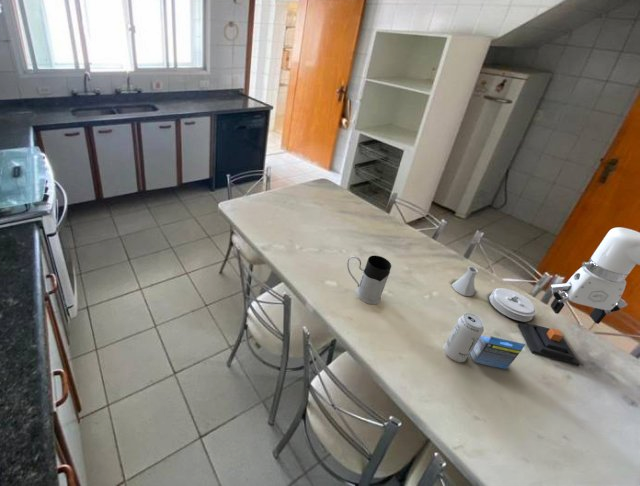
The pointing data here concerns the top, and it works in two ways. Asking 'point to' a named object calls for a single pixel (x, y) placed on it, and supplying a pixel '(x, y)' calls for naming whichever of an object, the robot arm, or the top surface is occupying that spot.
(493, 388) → the top surface
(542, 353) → the black shallow tray
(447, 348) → the energy drink can
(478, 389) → the top surface
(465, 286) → the flask
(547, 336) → the black and orange block
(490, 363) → the label tape box
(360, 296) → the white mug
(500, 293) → the lid
